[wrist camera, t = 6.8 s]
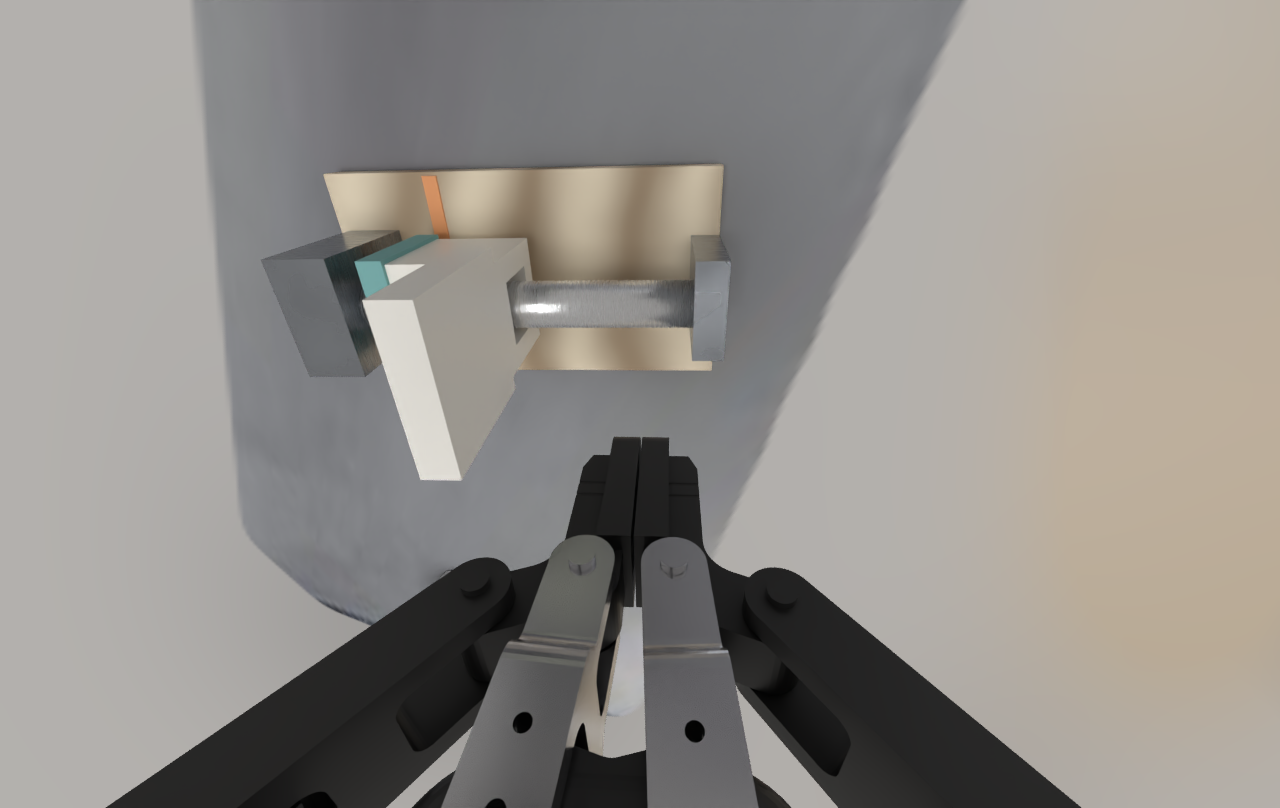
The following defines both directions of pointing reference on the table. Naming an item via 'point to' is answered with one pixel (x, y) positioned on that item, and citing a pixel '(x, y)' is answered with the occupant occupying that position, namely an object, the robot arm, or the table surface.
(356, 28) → the table surface
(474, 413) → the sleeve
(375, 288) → the thin teal tile
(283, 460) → the table surface
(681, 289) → the pipe stand
